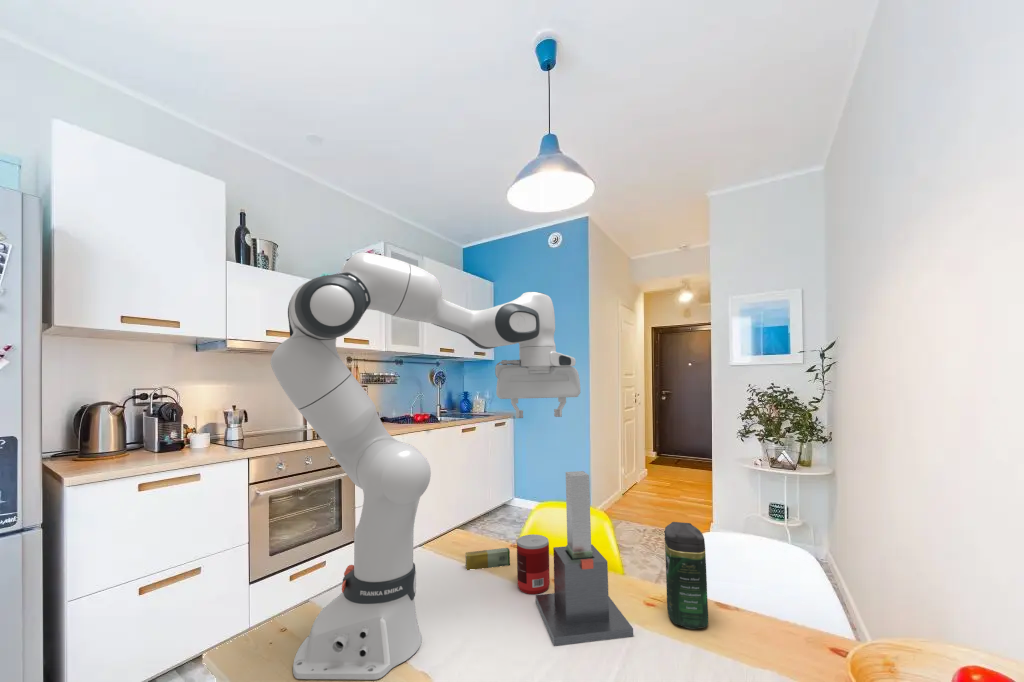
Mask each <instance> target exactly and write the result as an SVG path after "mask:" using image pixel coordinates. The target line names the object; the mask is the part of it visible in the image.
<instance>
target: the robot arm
mask: <svg viewBox="0 0 1024 682" xmlns="http://www.w3.org/2000/svg"><path fill="white" fill-rule="evenodd" d="M367 310H370V311H371V310H372V311H378V312H381V313H383V314H386V315H390V316H392V317H393V316H394V317H397V318H401V319H405V320H410V321H413V322H414V321H416V322H421V323H427V324H431V325H434V326H437V327H440V328H443V329H445V330H448V331H451V332H454V333H457V334H459V335H461V336H463V337H464V338H466V339H467V340H468V341H469V342H471V344H472V345H474V346H476V347H477V348H480V349H483V350H491V349H494V348H497V347H504V346H510V345H516V344H519V345H518V347H519V355H518V356H519V359H510V360H507V359H503V360H501V361H499V362H497V363H496V365H495V367H494V371H495V372H494V373H495V374H494V375H495V377H496V378H497V381H496V390H495V391H496V395H495V396H496V397H497V398H498V399H500V400H510V403H511V405H512V407H513V408H514V410H515V418H516V419H524V410H523V409H520V408H519V407H518V406H517V404H519V400H520V399H523V400H524V399H553V398H554V399H555V398H556V399H557V402H558V403H559V404H558V407H557V408H554V409H553V411H554V412H553V415H554V417H555V418H562V416H563V409H564V407H565V405H566V403H567V398H578V397H579V396H580V394H581V380H580V379H581V378H580V375H579V371H578V370H577V368H576V367H575V366H576V363H577V362H576V358H575V357H573V356H570V355H567V354H563V353H561V352H557V349H556V347H557V346H556V343H555V332H556V316H555V308H554V303H553V300H552V297H550V296H549V295H548V294H546V293H543V292H539V291H538V292H537V291H526V292H524V293H522V294H521V295H520V296H518V297H517V298H516V299H513V300H511V301H508V302H504V303H502V304H498V305H495V306H492V307H490V308H483V309H477V310H473V309H469V308H466V307H463V306H461V305H459V304H456V303H453V302H452V301H448V300H447V299H444V298H443V291H442V287H441V284H440V281H439V280H438V278H437V277H436V275H433V274H432V273H431V272H429V271H427V270H425V269H423V268H421V267H420V266H417V265H415V264H411V263H409V262H406V261H404V260H400V259H398V258H397V259H396V258H395V257H394V258H393V257H390V256H386V255H382V254H376V253H371V252H364V251H363V252H362V251H361V252H358V253H355V254H353V255H352V256H351V257H350V258H349V259H348V260H347V261H346V262H345V264H344V265H343V268H342V271H341V273H334V274H327V275H321V276H317V277H314V278H312V279H310V280H309V281H307V282H305V283H303V284H301V285H300V286H298V287H297V288H296V289H295V291H294V292H293V294H292V296H291V298H290V300H289V302H288V307H287V318H288V327H289V337H288V338H287V339H286V340H284V341H282V342H281V343H280V344H279V345H278V346H277V347H276V348H275V350H274V351H273V352H272V354H271V357H270V366H271V369H272V371H273V373H274V375H275V378H276V379H277V381H278V382H279V385H280V387H281V388H282V389H283V392H284V393H285V394H286V395H287V397H288V399H289V400H290V402H292V405H294V407H295V408H296V409H297V410H298V411H299V413H300V414H301V415H302V417H303V418H304V419H305V420H306V421H307V422H308V425H310V426H311V427H312V429H313V430H314V432H316V434H317V435H318V437H320V439H321V440H322V441H323V443H324V444H325V445H326V446H327V448H328V450H329V451H330V453H331V455H332V456H333V457H334V458H335V460H336V462H337V463H338V465H339V466H340V467H341V468H342V470H343V471H344V473H345V474H346V475H347V476H348V478H349V479H350V481H351V482H352V483H353V484H354V485H355V486H356V487H358V488H359V489H361V490H362V492H363V502H362V503H363V504H362V510H361V515H360V518H359V521H358V523H357V526H356V527H355V530H354V539H353V540H354V543H353V544H354V545H353V546H354V547H353V548H354V552H353V564H349V565H347V567H346V568H345V571H344V572H343V577H342V584H341V593H340V594H339V595H338V596H337V597H335V598H334V599H333V600H331V601H330V602H328V604H326V606H324V607H323V608H322V609H321V610H320V612H319V613H318V614H317V616H316V618H315V620H314V621H313V624H312V626H311V630H310V632H309V635H308V636H307V637H306V638H305V639H304V640H303V641H302V643H300V646H299V648H298V649H297V652H296V654H295V656H294V660H293V663H292V673H293V676H294V678H295V679H297V680H361V681H362V680H367V681H368V680H370V681H371V680H375V681H376V680H378V679H381V678H383V677H384V676H385V675H387V674H388V673H389V672H390V671H391V670H392V669H394V667H397V666H398V665H399V664H402V663H404V662H405V661H407V660H409V659H410V658H411V657H412V656H413V655H414V654H416V652H417V651H418V650H419V649H420V647H421V644H422V640H423V639H422V638H423V637H422V634H421V631H420V627H419V622H418V617H417V611H416V610H417V609H416V602H415V600H416V599H415V597H416V593H417V570H416V564H415V562H414V540H415V539H414V533H415V532H414V531H415V530H414V529H415V522H416V521H415V520H416V516H417V511H418V506H419V503H420V499H421V497H422V496H423V495H424V493H426V491H427V489H428V487H429V484H430V481H431V476H432V475H431V474H432V471H431V465H430V463H429V461H428V459H427V458H426V457H425V455H424V454H423V453H422V452H421V451H420V450H418V448H416V447H415V446H414V445H412V444H410V443H406V442H402V441H399V440H398V439H395V438H394V437H393V436H392V435H391V434H390V433H389V432H388V430H387V429H386V427H385V426H384V424H383V421H382V420H381V418H380V416H379V413H378V411H377V406H376V404H375V402H374V401H373V400H372V398H371V397H370V396H369V395H368V393H367V392H366V390H365V389H364V388H363V387H362V385H361V384H360V382H359V381H358V380H357V378H356V376H354V374H353V373H352V372H351V370H350V369H349V368H348V366H347V365H346V364H345V363H344V361H343V360H342V359H341V357H340V355H339V352H338V350H337V338H340V337H343V336H345V335H347V334H349V333H350V332H351V331H352V330H354V328H355V327H356V326H357V325H358V324H359V322H360V320H361V319H362V317H363V316H364V314H365V313H366V311H367Z"/></svg>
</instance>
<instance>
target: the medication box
mask: <svg viewBox="0 0 1024 682" xmlns="http://www.w3.org/2000/svg"><path fill="white" fill-rule="evenodd" d="M510 553H511V551H510V548H508V547H502V548H495V549H493V548H492V549H483V550H476V551H467V552H465V566H466V567H465V566H464V567H465V569H467V570H466V571H471V570H470V569H475V570H482V568H484V569H489V568H492V567H493V568H500V566H502V567H508V566H511V557H510V556H511V554H510ZM493 568H492V569H493Z"/></svg>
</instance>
